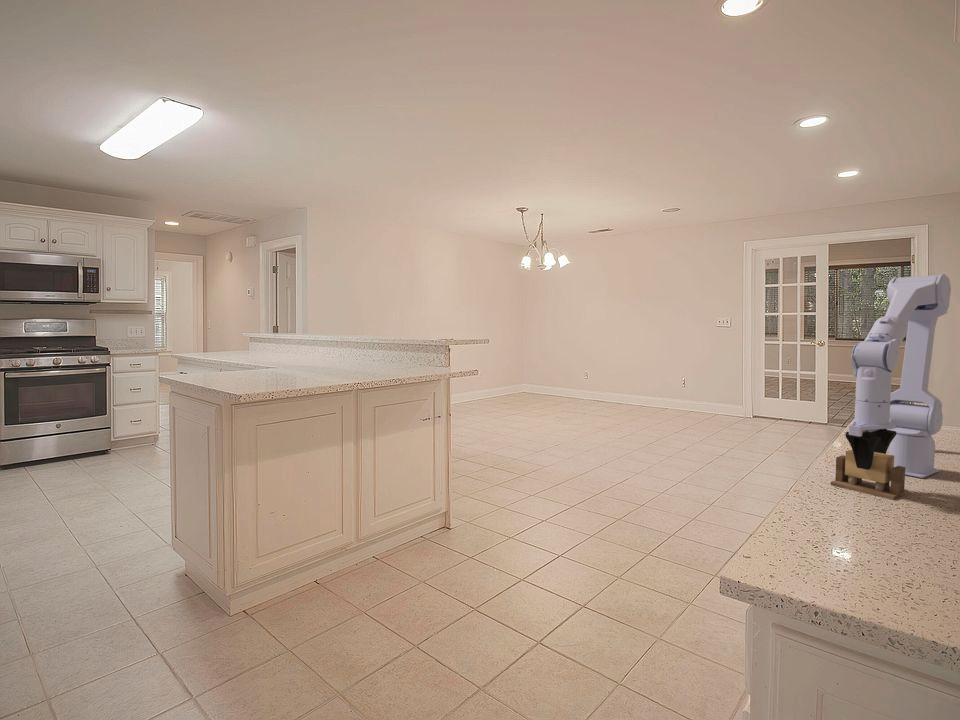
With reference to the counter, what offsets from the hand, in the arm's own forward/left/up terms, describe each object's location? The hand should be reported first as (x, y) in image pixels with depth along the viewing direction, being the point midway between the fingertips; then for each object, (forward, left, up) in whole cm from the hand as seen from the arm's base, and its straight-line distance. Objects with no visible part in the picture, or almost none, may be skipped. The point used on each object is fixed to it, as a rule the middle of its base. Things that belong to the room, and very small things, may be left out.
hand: (869, 466), depth 107 cm
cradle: (0, 0, -5) cm, 5 cm away
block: (0, 0, -2) cm, 2 cm away
